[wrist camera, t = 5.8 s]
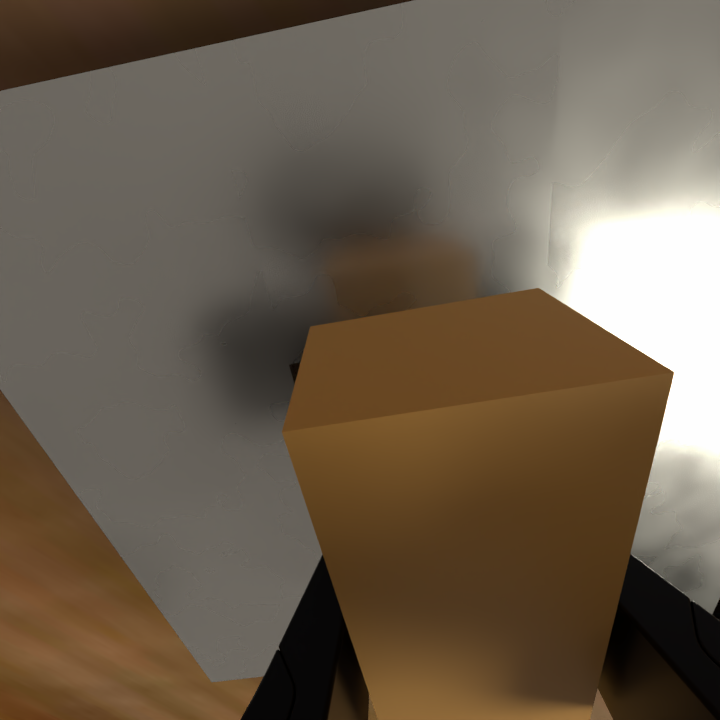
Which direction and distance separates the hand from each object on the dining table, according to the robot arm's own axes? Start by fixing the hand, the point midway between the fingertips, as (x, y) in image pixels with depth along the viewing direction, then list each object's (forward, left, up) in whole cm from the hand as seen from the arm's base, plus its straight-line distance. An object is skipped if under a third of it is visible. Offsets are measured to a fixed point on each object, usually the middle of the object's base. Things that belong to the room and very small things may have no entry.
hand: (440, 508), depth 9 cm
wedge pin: (0, 0, -4) cm, 4 cm away
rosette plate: (0, 0, -6) cm, 6 cm away
